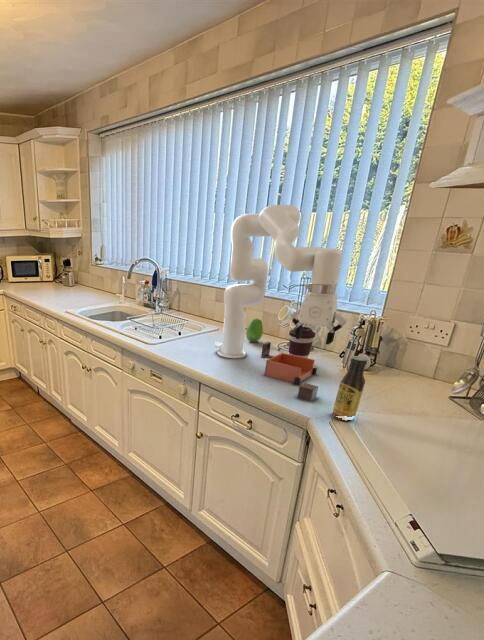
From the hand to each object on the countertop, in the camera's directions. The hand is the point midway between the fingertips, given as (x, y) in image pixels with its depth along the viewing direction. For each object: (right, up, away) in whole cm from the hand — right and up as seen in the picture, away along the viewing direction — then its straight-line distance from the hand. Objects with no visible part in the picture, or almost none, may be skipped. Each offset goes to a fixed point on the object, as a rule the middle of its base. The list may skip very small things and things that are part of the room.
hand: (313, 341), depth 132 cm
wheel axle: (+7, -13, +20) cm, 24 cm away
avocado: (+4, +7, +68) cm, 68 cm away
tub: (+1, -10, +25) cm, 27 cm away
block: (0, -19, +4) cm, 20 cm away
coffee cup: (+13, -5, +38) cm, 40 cm away
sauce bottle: (+4, -25, -10) cm, 28 cm away
